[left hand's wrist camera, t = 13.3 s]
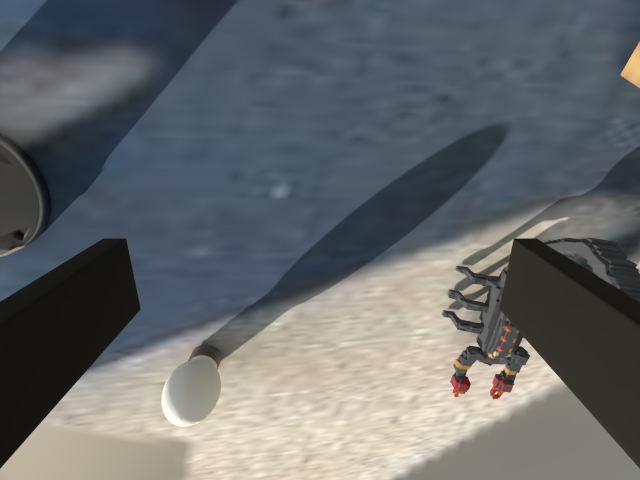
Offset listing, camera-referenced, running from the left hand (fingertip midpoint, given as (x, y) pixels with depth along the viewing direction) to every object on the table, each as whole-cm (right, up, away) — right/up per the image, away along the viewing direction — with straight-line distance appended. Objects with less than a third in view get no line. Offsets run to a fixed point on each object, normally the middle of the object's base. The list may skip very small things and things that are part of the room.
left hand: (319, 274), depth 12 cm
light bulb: (-16, -15, +39) cm, 45 cm away
